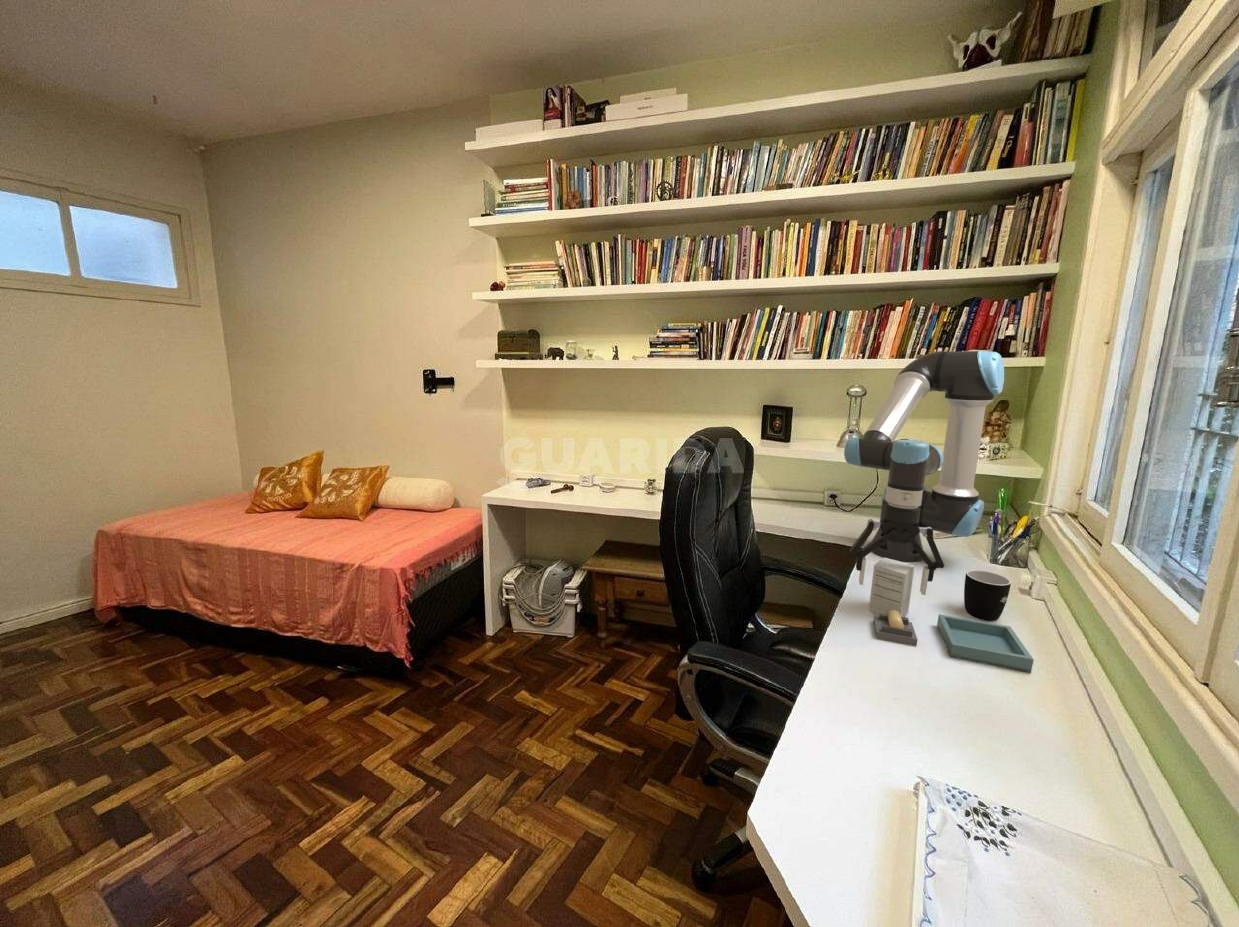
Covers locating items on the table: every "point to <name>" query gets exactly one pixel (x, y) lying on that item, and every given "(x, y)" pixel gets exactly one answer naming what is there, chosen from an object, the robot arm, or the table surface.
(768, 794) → the table surface
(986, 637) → the parts tray
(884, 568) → the supplement box
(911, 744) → the table surface
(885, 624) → the fuse block
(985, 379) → the robot arm
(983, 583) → the mug
